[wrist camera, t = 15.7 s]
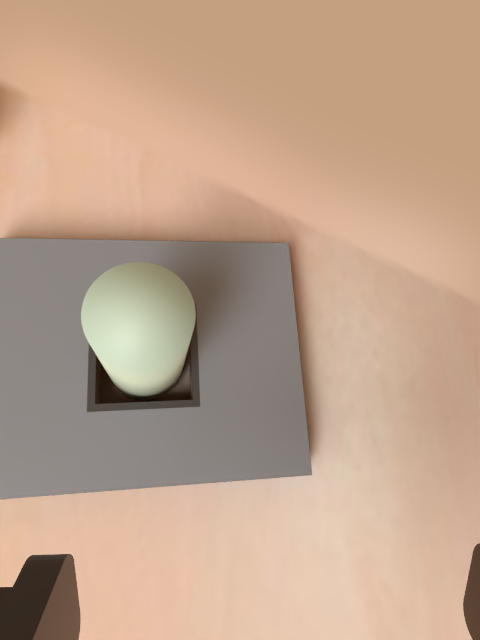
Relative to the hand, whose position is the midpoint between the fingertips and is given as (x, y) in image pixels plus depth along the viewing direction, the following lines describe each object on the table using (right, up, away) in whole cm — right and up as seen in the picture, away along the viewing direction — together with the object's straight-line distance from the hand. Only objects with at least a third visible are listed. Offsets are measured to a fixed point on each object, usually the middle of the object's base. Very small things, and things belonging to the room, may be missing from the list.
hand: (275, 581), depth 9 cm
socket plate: (-6, +3, +18) cm, 19 cm away
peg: (-6, +3, +18) cm, 19 cm away
